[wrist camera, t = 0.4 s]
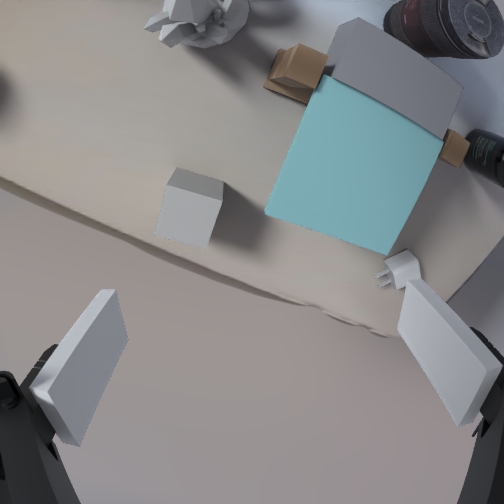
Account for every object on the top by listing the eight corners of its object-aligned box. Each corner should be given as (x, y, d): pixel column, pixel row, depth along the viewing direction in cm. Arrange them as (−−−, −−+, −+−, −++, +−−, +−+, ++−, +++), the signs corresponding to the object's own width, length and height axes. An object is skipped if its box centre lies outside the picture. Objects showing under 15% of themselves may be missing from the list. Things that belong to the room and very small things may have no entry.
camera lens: (375, -4, 28) (443, -32, 15) (428, 10, 28) (504, -2, 15) (377, 53, 32) (450, 47, 19) (430, 63, 32) (508, 69, 19)
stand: (278, 49, 31) (303, 32, 20) (411, 115, 36) (473, 134, 24) (263, 87, 34) (281, 87, 22) (397, 147, 38) (455, 177, 27)
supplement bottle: (495, 144, 38) (548, 168, 27) (477, 178, 40) (528, 209, 30) (473, 119, 36) (530, 138, 25) (454, 155, 39) (508, 183, 28)
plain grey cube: (176, 167, 38) (166, 184, 32) (223, 181, 39) (222, 201, 33) (164, 210, 40) (153, 235, 34) (208, 223, 42) (205, 249, 36)
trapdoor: (332, 22, 23) (350, 13, 19) (439, 86, 27) (468, 91, 22) (260, 196, 32) (266, 216, 28) (370, 235, 35) (388, 258, 31)
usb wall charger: (409, 267, 48) (421, 281, 44) (372, 284, 49) (381, 299, 45) (406, 247, 46) (418, 260, 42) (367, 265, 47) (377, 280, 43)
